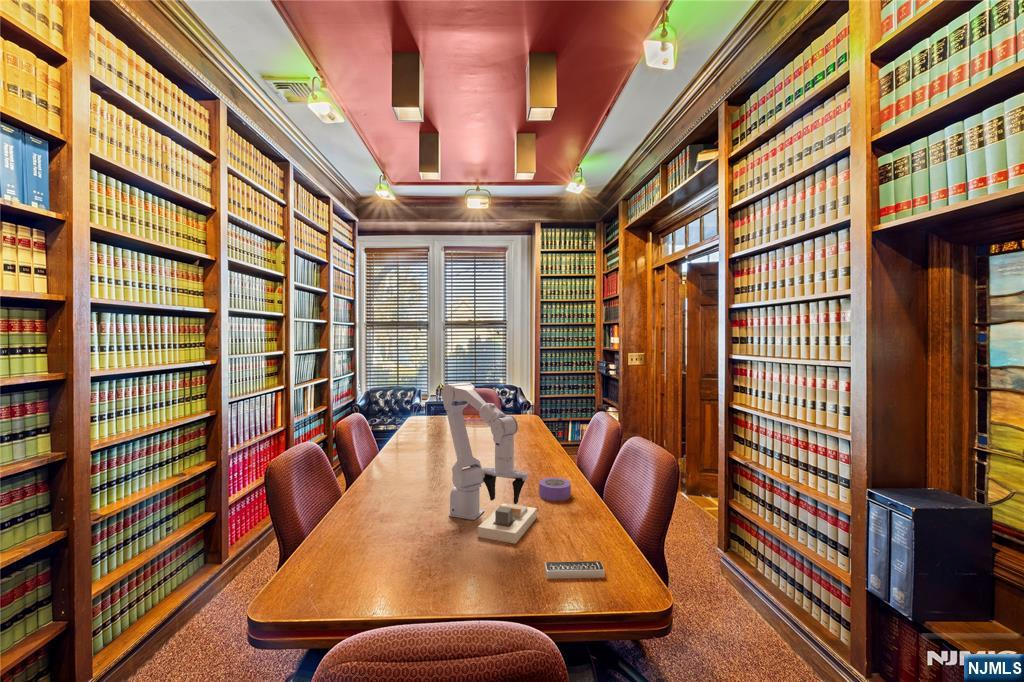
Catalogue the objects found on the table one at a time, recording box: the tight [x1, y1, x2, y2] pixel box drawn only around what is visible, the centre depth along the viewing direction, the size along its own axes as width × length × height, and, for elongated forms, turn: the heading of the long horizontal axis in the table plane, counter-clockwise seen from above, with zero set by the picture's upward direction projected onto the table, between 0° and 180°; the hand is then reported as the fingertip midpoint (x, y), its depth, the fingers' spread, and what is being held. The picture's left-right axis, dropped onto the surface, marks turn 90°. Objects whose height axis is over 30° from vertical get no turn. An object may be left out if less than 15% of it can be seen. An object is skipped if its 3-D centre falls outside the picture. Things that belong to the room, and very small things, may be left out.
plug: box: [494, 505, 512, 527], centre depth 137 cm, size 4×4×7 cm
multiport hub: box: [544, 560, 606, 580], centre depth 113 cm, size 4×14×2 cm, turn 92°
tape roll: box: [538, 477, 572, 502], centre depth 168 cm, size 12×12×5 cm
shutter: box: [498, 503, 528, 518], centre depth 144 cm, size 7×7×3 cm
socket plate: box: [477, 503, 538, 544], centre depth 141 cm, size 12×20×3 cm, turn 159°
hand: (504, 501), depth 137 cm, fingers open, 7 cm apart
